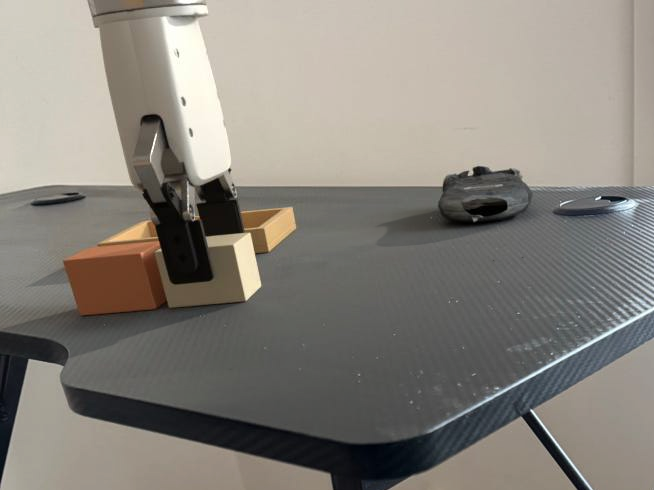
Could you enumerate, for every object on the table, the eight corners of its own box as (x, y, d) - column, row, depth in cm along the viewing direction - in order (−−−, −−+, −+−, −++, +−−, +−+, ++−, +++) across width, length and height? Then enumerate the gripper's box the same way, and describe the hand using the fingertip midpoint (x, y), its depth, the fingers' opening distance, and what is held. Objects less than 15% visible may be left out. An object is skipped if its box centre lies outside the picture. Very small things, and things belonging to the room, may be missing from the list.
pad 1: (79, 316, 70) (62, 260, 68) (104, 300, 75) (88, 247, 72) (155, 309, 70) (140, 253, 68) (176, 293, 74) (162, 240, 72)
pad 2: (168, 308, 70) (153, 251, 68) (188, 292, 74) (175, 239, 72) (246, 301, 69) (233, 244, 67) (261, 286, 73) (250, 232, 71)
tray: (103, 267, 88) (96, 243, 87) (148, 242, 98) (142, 221, 97) (269, 252, 86) (264, 227, 85) (296, 228, 97) (292, 206, 96)
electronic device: (436, 221, 101) (438, 222, 87) (437, 164, 99) (439, 156, 85) (521, 225, 102) (536, 226, 88) (524, 168, 99) (540, 160, 86)
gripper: (137, 6, 69) (198, 251, 78) (34, -2, 54) (124, 299, 63) (235, -6, 68) (284, 242, 77) (157, -19, 54) (230, 289, 63)
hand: (212, 267), depth 70 cm, fingers open, 9 cm apart
